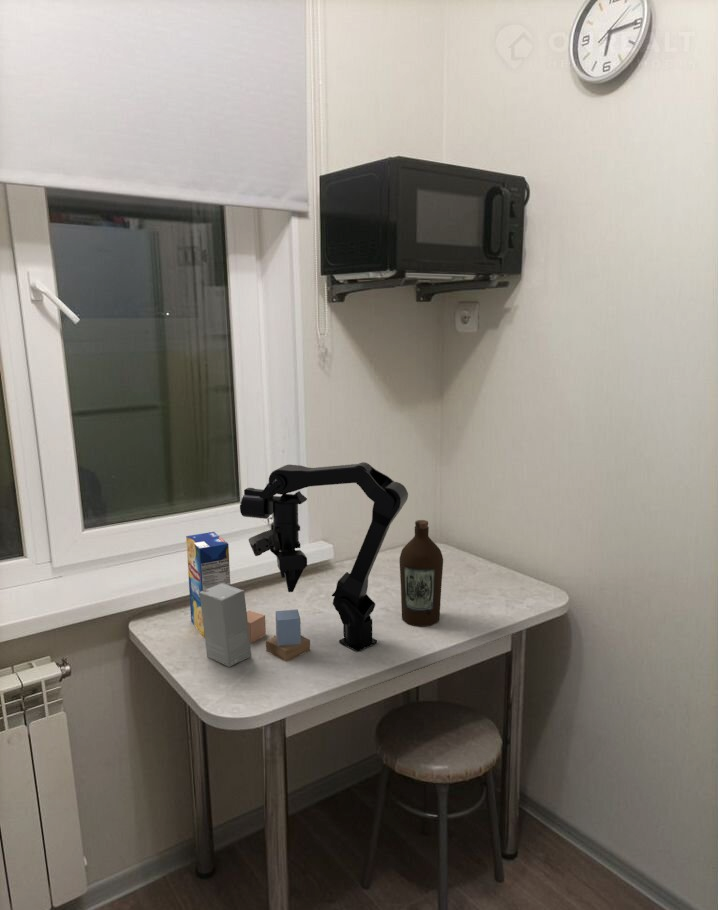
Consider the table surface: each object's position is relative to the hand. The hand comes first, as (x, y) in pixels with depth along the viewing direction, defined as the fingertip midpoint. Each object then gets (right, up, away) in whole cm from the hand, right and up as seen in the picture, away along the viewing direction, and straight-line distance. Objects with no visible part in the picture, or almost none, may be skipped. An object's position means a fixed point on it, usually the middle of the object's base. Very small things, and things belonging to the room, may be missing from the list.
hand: (287, 584), depth 160 cm
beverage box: (-19, -12, +6) cm, 23 cm away
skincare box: (-12, -15, -9) cm, 21 cm away
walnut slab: (+1, -14, -6) cm, 15 cm away
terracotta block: (-9, -12, +1) cm, 15 cm away
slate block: (+1, -11, -7) cm, 13 cm away
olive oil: (+32, -11, +10) cm, 35 cm away
